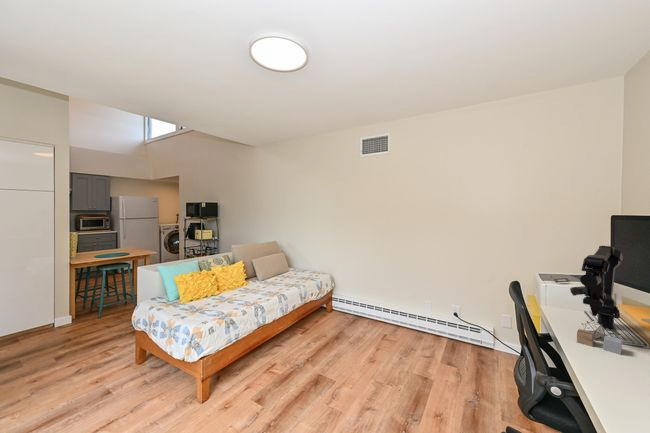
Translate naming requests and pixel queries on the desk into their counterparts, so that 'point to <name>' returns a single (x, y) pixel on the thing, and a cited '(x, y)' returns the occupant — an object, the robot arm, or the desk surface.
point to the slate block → (612, 344)
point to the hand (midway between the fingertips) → (594, 315)
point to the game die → (594, 328)
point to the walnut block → (585, 337)
